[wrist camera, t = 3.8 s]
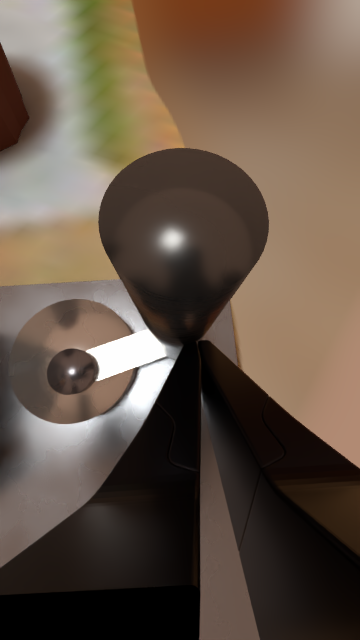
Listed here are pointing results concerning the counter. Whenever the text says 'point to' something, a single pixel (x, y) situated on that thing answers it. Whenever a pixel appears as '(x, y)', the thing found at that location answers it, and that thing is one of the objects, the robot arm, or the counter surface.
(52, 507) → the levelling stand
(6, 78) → the muffin
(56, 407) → the crank handle
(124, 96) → the counter surface
